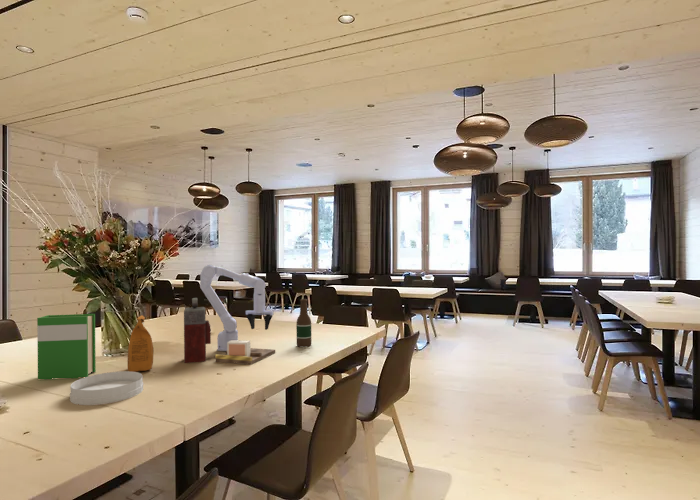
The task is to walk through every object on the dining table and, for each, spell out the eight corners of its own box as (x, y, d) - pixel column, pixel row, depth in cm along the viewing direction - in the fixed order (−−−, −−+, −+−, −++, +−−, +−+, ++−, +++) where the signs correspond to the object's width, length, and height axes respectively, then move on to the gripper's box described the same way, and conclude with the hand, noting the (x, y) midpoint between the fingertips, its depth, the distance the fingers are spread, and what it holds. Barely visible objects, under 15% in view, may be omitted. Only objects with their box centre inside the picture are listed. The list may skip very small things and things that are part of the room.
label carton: (227, 358, 188) (226, 342, 188) (231, 355, 193) (231, 340, 193) (246, 358, 187) (246, 342, 187) (250, 355, 192) (250, 340, 192)
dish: (127, 380, 162) (127, 367, 162) (155, 392, 148) (154, 378, 148) (60, 396, 145) (59, 382, 145) (84, 411, 131) (83, 395, 131)
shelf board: (215, 361, 188) (215, 354, 188) (242, 350, 209) (242, 344, 209) (251, 364, 183) (251, 357, 183) (275, 352, 204) (275, 346, 204)
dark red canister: (211, 360, 190) (210, 298, 190) (184, 363, 186) (183, 299, 186) (211, 356, 198) (210, 296, 198) (185, 358, 195) (184, 297, 195)
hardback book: (95, 372, 173) (95, 313, 174) (87, 377, 166) (86, 316, 166) (48, 374, 171) (48, 315, 171) (37, 380, 164) (37, 318, 164)
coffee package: (154, 364, 185) (154, 314, 185) (153, 371, 173) (152, 318, 173) (129, 367, 181) (128, 315, 181) (125, 374, 170) (125, 319, 170)
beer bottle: (293, 346, 217) (293, 299, 217) (302, 343, 224) (301, 298, 224) (306, 347, 213) (305, 300, 213) (314, 344, 220) (314, 298, 220)
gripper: (242, 303, 213) (242, 330, 213) (269, 303, 210) (269, 331, 210) (249, 301, 220) (249, 327, 220) (275, 301, 216) (275, 328, 216)
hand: (259, 329), depth 215 cm, fingers open, 7 cm apart
